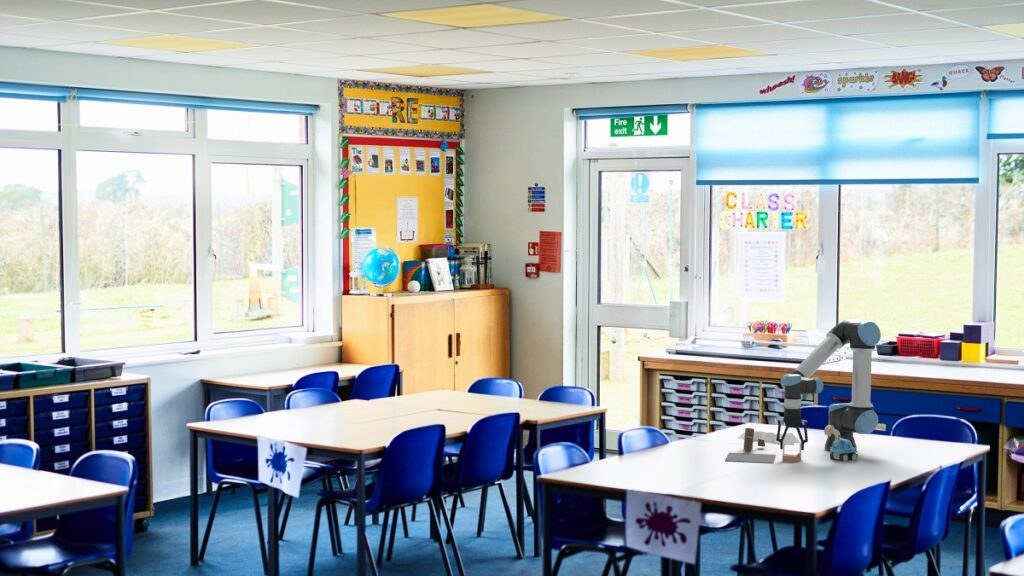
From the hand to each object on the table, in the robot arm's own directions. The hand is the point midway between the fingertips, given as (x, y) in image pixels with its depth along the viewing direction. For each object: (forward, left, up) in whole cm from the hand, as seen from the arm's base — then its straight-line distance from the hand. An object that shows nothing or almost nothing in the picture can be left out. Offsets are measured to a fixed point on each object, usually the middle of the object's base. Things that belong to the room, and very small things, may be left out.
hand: (791, 456), depth 570 cm
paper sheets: (+12, -58, -3) cm, 59 cm away
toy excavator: (-21, -7, -2) cm, 22 cm away
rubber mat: (+19, 0, -2) cm, 19 cm away
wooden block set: (+20, -24, -2) cm, 32 cm away
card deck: (0, 0, -2) cm, 2 cm away
